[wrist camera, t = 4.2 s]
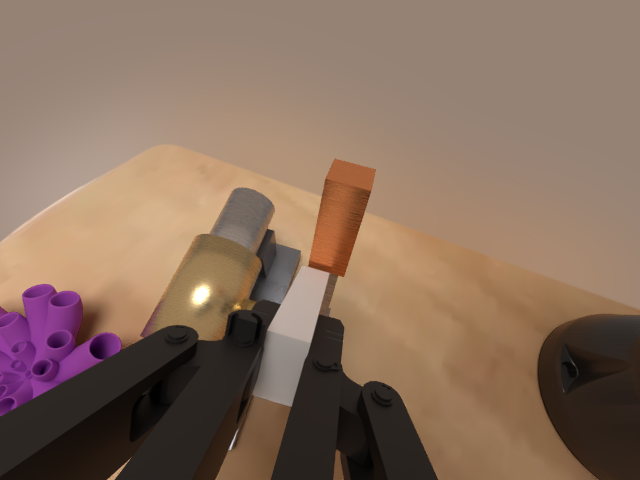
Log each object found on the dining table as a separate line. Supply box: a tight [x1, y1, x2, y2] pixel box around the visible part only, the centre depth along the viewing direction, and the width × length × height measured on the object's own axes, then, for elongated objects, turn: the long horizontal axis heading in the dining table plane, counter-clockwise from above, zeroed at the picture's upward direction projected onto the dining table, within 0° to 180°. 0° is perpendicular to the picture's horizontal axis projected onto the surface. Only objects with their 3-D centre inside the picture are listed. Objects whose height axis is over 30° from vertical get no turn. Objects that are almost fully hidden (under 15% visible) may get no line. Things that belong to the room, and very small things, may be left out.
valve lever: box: [308, 159, 376, 317], centre depth 19 cm, size 3×2×14 cm
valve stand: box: [140, 188, 301, 450], centre depth 25 cm, size 18×10×11 cm, turn 164°
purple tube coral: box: [0, 284, 122, 416], centre depth 23 cm, size 11×15×10 cm
